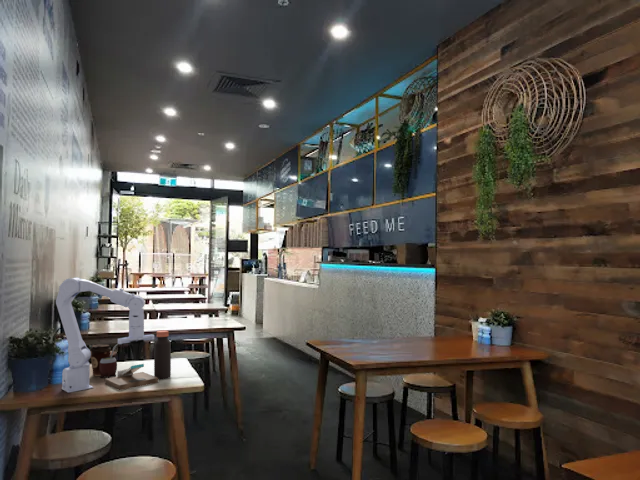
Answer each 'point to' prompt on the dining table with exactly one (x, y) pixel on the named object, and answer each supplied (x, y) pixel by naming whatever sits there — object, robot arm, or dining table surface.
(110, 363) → the mate gourd
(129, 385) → the base plate
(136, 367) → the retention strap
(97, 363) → the dark brown jar
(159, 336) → the bottle
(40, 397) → the dining table surface
